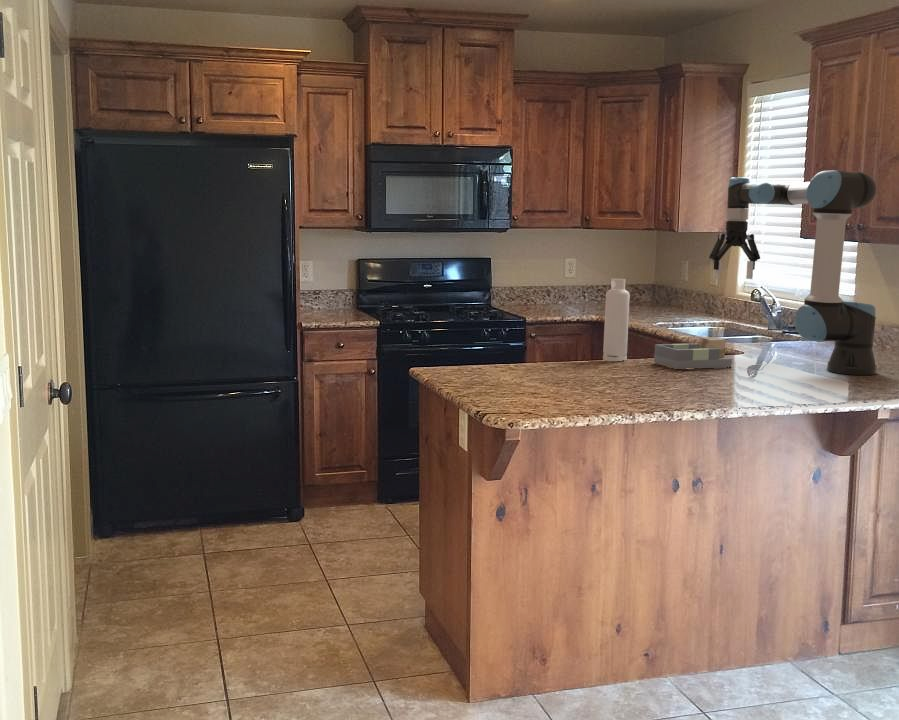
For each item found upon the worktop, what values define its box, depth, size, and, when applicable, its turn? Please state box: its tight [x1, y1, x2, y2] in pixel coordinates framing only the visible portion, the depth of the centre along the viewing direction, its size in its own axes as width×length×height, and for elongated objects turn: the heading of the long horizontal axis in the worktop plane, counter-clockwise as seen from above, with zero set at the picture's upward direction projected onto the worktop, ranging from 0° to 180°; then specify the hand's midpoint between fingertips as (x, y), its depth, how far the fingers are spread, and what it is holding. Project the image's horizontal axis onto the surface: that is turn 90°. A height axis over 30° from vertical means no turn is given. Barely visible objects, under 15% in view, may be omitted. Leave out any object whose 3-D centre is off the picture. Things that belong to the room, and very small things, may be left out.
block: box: [699, 336, 727, 357], centre depth 331 cm, size 6×6×6 cm
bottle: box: [602, 278, 631, 362], centre depth 337 cm, size 8×8×28 cm
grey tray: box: [653, 342, 732, 370], centre depth 329 cm, size 14×21×6 cm, turn 109°
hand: (733, 279), depth 359 cm, fingers open, 13 cm apart
